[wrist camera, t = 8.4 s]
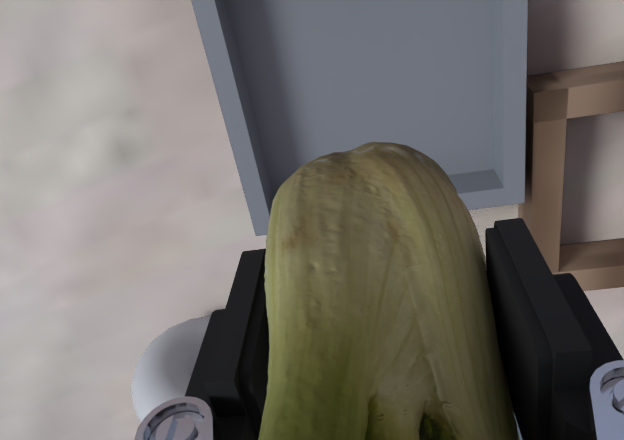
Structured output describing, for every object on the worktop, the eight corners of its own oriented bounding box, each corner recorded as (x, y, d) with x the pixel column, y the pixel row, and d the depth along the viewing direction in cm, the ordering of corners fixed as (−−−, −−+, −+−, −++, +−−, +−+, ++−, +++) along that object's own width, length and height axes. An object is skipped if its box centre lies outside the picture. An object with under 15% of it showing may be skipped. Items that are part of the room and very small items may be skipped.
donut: (310, 315, 36) (298, 446, 28) (304, 353, 38) (290, 487, 29) (160, 293, 36) (101, 418, 27) (160, 332, 38) (105, 461, 29)
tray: (509, -117, 23) (529, -119, 21) (509, 176, 30) (524, 202, 28) (195, -53, 25) (178, -47, 23) (263, 208, 32) (255, 235, 30)
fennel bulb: (485, 271, 16) (736, 963, 6) (328, 313, 17) (298, 951, 7) (431, 88, 13) (719, 768, 3) (249, 154, 14) (3, 804, 4)
